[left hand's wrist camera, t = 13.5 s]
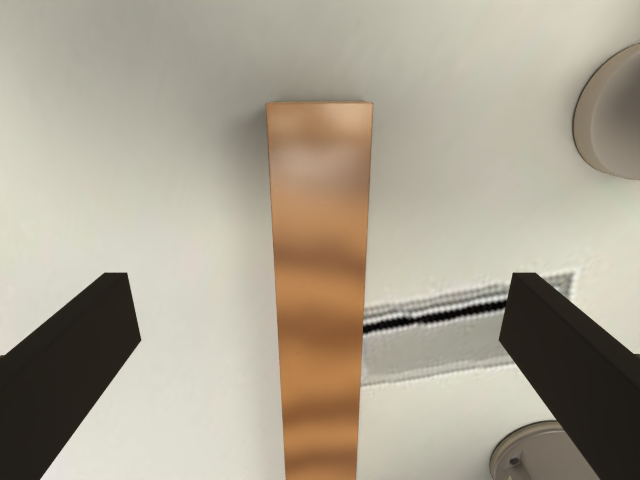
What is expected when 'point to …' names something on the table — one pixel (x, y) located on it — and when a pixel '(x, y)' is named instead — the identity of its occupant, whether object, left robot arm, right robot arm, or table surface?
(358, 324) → the long beam
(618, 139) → the bust sculpture
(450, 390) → the table surface
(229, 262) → the table surface
